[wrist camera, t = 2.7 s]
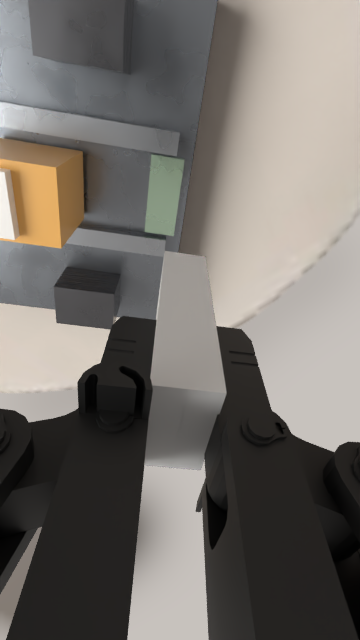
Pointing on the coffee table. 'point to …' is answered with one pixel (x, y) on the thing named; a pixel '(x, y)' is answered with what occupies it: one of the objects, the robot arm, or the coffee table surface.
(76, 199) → the slider
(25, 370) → the coffee table surface
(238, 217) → the coffee table surface
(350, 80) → the coffee table surface
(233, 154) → the coffee table surface
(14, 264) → the panel
